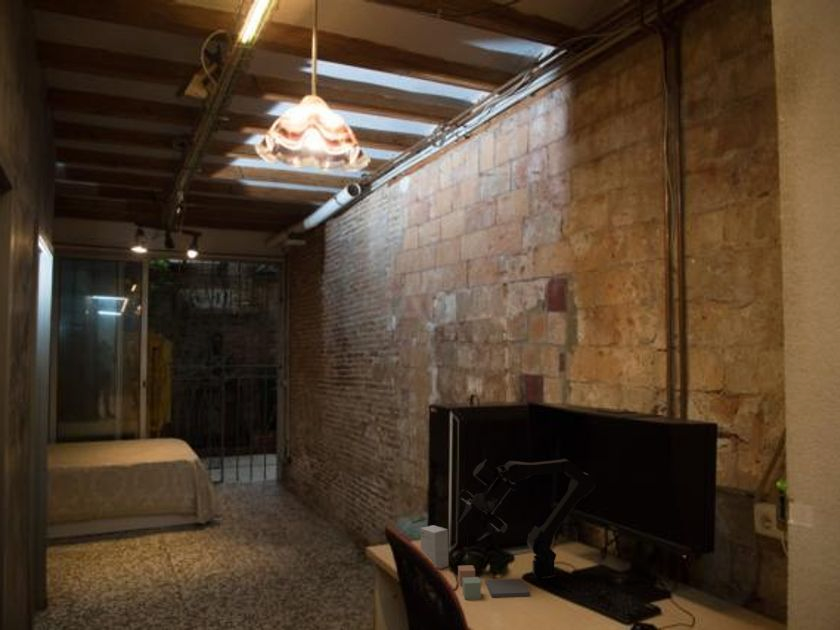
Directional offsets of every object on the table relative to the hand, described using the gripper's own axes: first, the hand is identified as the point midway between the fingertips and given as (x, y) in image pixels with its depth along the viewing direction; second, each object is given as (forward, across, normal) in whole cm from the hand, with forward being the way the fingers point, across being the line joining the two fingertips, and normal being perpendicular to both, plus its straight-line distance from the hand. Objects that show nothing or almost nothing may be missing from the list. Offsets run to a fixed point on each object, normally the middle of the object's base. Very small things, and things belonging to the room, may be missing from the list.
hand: (467, 531), depth 216 cm
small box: (+18, -8, +16) cm, 25 cm away
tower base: (+6, +20, +5) cm, 22 cm away
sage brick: (+14, +15, -3) cm, 21 cm away
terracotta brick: (+13, +9, +5) cm, 17 cm away
